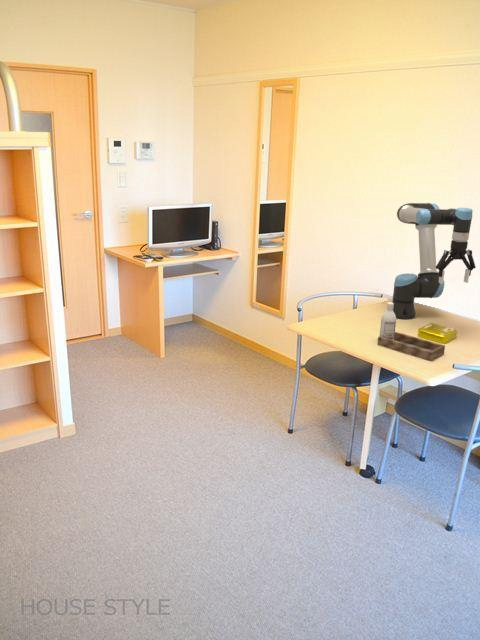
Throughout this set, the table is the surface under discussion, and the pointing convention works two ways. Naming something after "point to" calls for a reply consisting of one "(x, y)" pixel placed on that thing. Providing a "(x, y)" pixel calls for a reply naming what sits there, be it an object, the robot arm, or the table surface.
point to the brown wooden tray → (413, 346)
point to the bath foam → (388, 322)
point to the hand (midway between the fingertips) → (453, 282)
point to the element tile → (437, 333)
